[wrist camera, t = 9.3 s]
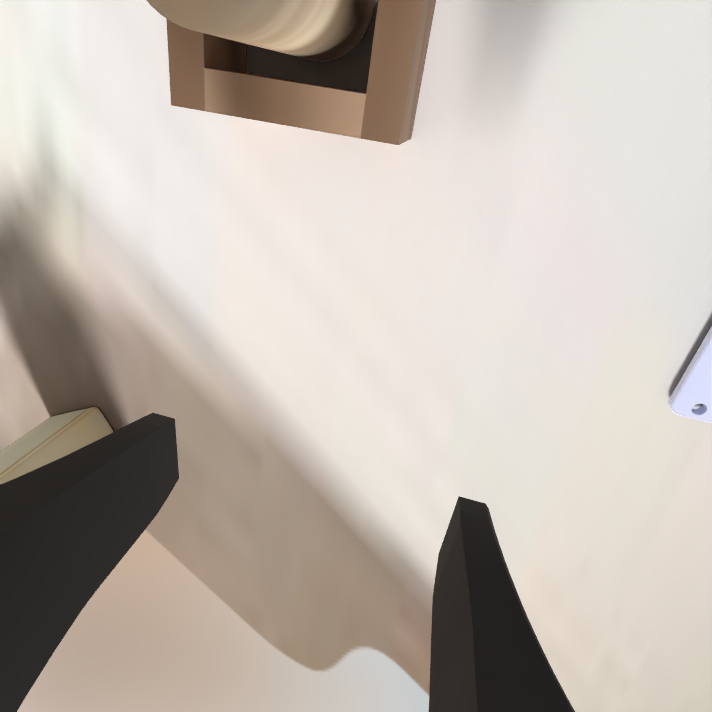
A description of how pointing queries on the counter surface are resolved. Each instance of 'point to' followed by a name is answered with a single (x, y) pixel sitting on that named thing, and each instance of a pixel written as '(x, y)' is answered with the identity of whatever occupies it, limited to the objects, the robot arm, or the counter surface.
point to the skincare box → (52, 441)
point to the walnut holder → (303, 100)
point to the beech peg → (277, 23)
